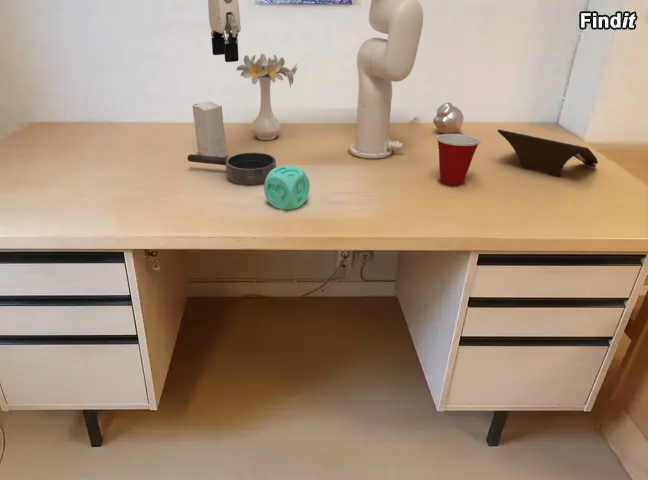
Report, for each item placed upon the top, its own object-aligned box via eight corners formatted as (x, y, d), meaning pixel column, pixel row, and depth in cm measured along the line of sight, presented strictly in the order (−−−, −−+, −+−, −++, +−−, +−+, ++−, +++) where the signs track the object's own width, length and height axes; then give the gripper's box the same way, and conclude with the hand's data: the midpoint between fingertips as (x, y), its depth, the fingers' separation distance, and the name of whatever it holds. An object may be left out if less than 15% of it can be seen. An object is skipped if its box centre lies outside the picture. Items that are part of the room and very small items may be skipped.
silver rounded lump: (430, 129, 184) (434, 98, 179) (459, 130, 183) (464, 99, 178) (432, 137, 177) (436, 105, 171) (463, 138, 175) (468, 106, 170)
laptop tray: (592, 190, 154) (606, 158, 152) (576, 176, 136) (591, 139, 134) (512, 170, 167) (523, 140, 166) (487, 155, 149) (500, 121, 147)
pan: (281, 170, 153) (281, 154, 151) (267, 188, 142) (266, 171, 140) (237, 165, 156) (236, 150, 154) (219, 183, 145) (218, 166, 143)
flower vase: (298, 142, 173) (298, 58, 160) (239, 143, 173) (235, 59, 160) (295, 130, 184) (296, 50, 171) (240, 131, 184) (236, 51, 171)
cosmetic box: (227, 157, 162) (224, 106, 155) (209, 161, 160) (204, 109, 152) (214, 149, 168) (210, 100, 161) (196, 153, 166) (191, 103, 158)
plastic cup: (474, 177, 148) (482, 132, 141) (471, 192, 139) (480, 146, 133) (432, 172, 151) (438, 129, 144) (428, 187, 142) (434, 141, 136)
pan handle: (230, 164, 150) (229, 156, 149) (227, 166, 149) (226, 159, 148) (189, 160, 153) (188, 153, 152) (186, 162, 151) (185, 155, 150)
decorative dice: (283, 193, 139) (283, 163, 135) (309, 201, 135) (310, 170, 131) (263, 204, 134) (263, 173, 129) (290, 212, 130) (290, 180, 125)
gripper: (249, -21, 119) (252, 63, 127) (224, -25, 132) (228, 51, 141) (216, -20, 116) (221, 65, 125) (194, -24, 130) (200, 53, 139)
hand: (225, 57), depth 133 cm, fingers open, 9 cm apart
